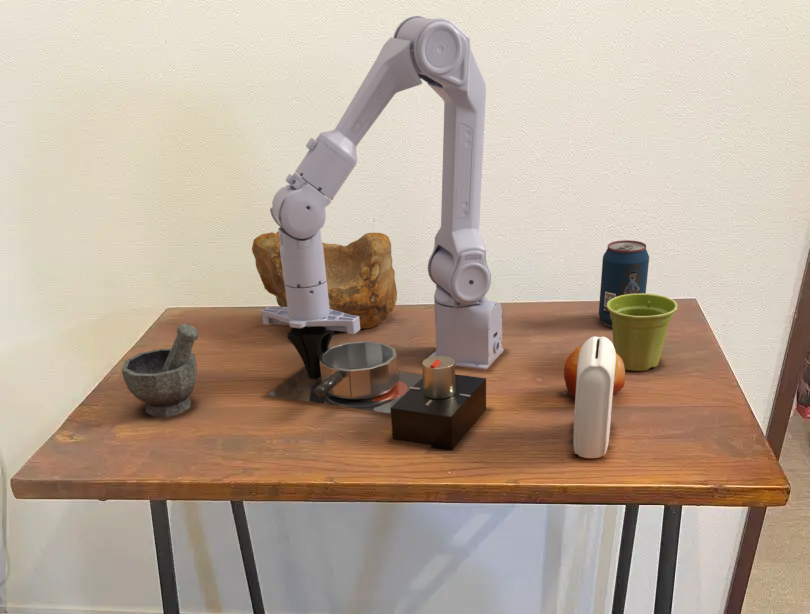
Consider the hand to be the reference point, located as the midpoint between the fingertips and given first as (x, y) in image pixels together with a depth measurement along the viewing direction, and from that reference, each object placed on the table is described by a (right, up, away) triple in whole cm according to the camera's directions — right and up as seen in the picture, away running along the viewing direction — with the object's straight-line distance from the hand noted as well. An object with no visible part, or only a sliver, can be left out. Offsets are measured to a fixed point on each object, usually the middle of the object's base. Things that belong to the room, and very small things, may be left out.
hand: (316, 376), depth 125 cm
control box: (+17, -9, -13) cm, 23 cm away
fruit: (+38, -5, -8) cm, 39 cm away
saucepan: (+5, -4, -4) cm, 8 cm away
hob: (+6, -2, -2) cm, 6 cm away
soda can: (+47, +11, +14) cm, 50 cm away
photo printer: (+35, -11, -18) cm, 41 cm away
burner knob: (+17, -5, -16) cm, 23 cm away
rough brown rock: (-1, +11, +19) cm, 22 cm away
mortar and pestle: (-19, -5, -4) cm, 20 cm away
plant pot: (+46, +2, 0) cm, 46 cm away
